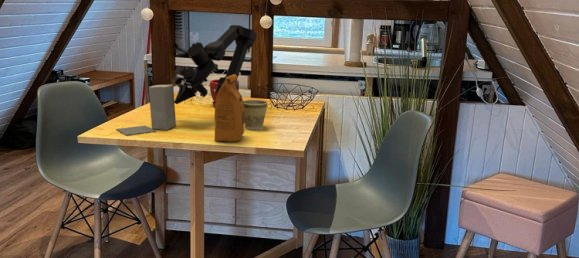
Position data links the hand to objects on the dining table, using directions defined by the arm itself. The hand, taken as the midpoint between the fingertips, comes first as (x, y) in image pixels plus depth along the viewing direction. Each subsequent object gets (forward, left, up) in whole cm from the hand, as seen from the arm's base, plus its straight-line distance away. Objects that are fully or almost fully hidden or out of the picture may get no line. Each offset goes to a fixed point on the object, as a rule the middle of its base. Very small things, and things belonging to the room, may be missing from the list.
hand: (175, 103), depth 194 cm
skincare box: (+3, +4, -9) cm, 10 cm away
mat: (+9, +13, -9) cm, 18 cm away
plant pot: (0, -44, -9) cm, 45 cm away
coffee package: (-26, +9, -9) cm, 29 cm away
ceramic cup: (-28, -11, -9) cm, 32 cm away
